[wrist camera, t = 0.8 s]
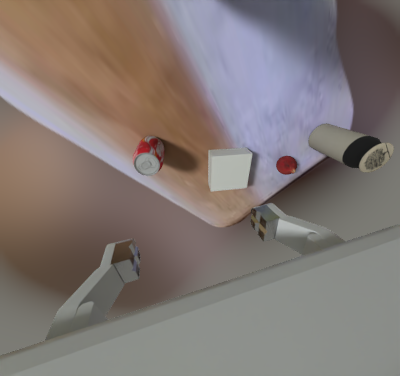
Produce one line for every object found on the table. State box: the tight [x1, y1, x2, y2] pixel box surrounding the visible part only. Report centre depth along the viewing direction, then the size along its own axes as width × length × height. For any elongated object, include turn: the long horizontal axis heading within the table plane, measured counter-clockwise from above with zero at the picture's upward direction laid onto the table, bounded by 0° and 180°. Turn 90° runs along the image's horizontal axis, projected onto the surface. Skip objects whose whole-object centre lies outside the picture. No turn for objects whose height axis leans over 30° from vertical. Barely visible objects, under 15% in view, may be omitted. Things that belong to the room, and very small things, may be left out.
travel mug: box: [308, 124, 394, 173], centre depth 45 cm, size 8×8×18 cm
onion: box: [276, 156, 297, 174], centre depth 53 cm, size 6×6×8 cm
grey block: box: [208, 148, 252, 191], centre depth 52 cm, size 12×12×5 cm
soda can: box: [133, 136, 164, 176], centre depth 42 cm, size 7×7×12 cm
